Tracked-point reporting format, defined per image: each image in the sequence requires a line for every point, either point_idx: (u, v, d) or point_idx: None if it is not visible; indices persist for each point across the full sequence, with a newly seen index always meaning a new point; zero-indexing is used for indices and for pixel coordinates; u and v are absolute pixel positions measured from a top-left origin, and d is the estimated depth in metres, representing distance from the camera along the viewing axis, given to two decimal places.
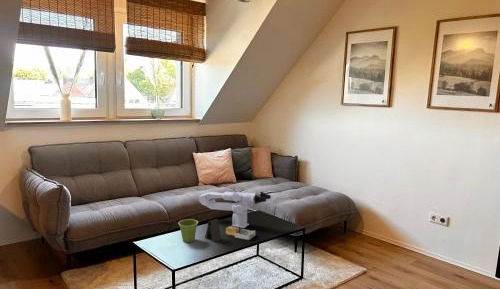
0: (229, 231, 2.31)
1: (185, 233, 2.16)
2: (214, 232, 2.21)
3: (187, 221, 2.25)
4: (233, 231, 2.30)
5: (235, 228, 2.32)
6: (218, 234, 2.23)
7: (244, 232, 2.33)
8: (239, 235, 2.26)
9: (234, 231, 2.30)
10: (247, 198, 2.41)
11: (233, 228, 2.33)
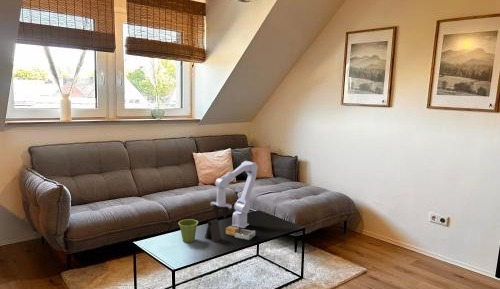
0: (229, 231, 2.32)
1: (185, 233, 2.16)
2: (214, 232, 2.21)
3: (187, 221, 2.25)
4: (233, 231, 2.30)
5: (235, 228, 2.32)
6: (218, 234, 2.23)
7: (244, 232, 2.33)
8: (239, 235, 2.26)
9: (234, 231, 2.30)
10: None
11: (233, 228, 2.33)
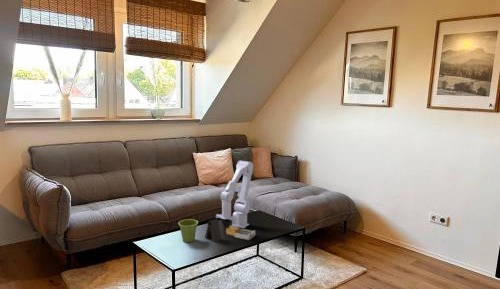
0: (229, 231, 2.31)
1: (185, 233, 2.16)
2: (214, 232, 2.21)
3: (187, 221, 2.25)
4: (233, 231, 2.30)
5: (235, 228, 2.32)
6: (218, 234, 2.23)
7: (244, 232, 2.33)
8: (239, 235, 2.26)
9: (234, 231, 2.29)
10: None
11: (233, 228, 2.32)
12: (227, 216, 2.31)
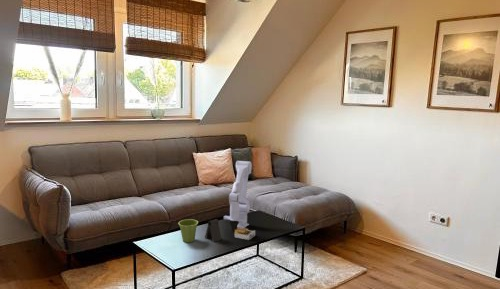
0: (238, 232, 2.29)
1: (185, 233, 2.16)
2: (214, 232, 2.21)
3: (187, 221, 2.25)
4: (242, 232, 2.28)
5: (244, 229, 2.30)
6: (218, 234, 2.23)
7: None
8: (239, 235, 2.26)
9: (243, 232, 2.28)
10: None
11: (241, 229, 2.30)
12: (235, 217, 2.29)
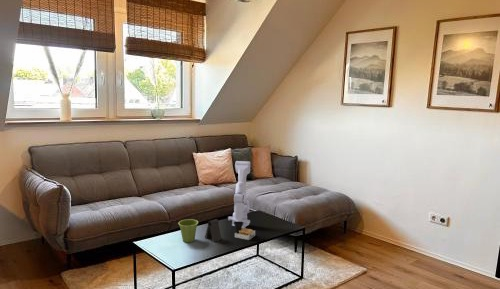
0: (242, 233, 2.28)
1: (185, 233, 2.16)
2: (214, 232, 2.21)
3: (187, 221, 2.25)
4: (247, 233, 2.27)
5: (249, 230, 2.29)
6: (218, 234, 2.23)
7: None
8: (239, 235, 2.26)
9: (248, 233, 2.26)
10: None
11: (246, 230, 2.29)
12: (240, 218, 2.28)
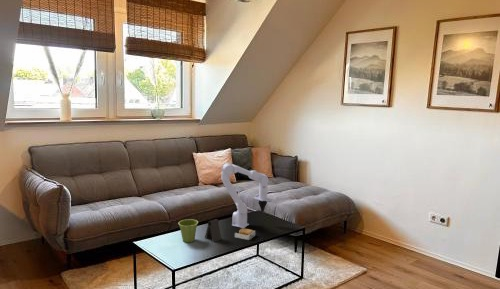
0: (242, 233, 2.28)
1: (185, 233, 2.16)
2: (214, 232, 2.21)
3: (187, 221, 2.25)
4: (247, 233, 2.27)
5: (248, 230, 2.29)
6: (218, 234, 2.23)
7: None
8: (239, 235, 2.26)
9: (248, 233, 2.26)
10: None
11: (246, 230, 2.29)
12: (264, 198, 2.46)
